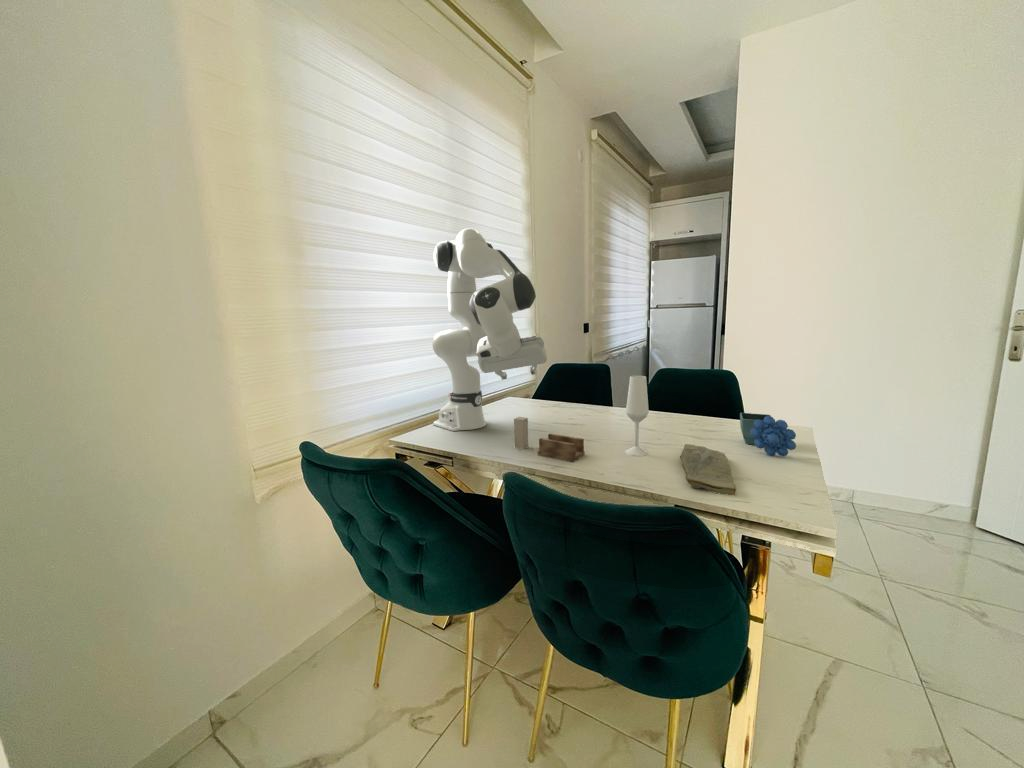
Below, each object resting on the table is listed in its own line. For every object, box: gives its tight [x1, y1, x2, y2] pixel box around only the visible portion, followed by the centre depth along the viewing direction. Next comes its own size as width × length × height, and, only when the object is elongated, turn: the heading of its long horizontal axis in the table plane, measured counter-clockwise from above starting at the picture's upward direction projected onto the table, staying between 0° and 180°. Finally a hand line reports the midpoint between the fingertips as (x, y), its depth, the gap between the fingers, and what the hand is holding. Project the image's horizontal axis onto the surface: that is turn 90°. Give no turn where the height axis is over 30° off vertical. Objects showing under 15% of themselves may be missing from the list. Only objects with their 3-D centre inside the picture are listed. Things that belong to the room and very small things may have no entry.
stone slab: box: [679, 443, 737, 496], centre depth 108 cm, size 12×4×30 cm
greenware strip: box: [513, 416, 529, 450], centre depth 131 cm, size 4×3×10 cm
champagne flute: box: [625, 375, 650, 457], centre depth 121 cm, size 7×7×24 cm
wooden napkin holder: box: [537, 433, 585, 463], centre depth 123 cm, size 12×8×5 cm, turn 55°
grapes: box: [750, 416, 797, 457], centre depth 115 cm, size 12×7×12 cm, turn 59°
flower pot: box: [739, 412, 772, 446], centre depth 128 cm, size 9×9×9 cm
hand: (519, 375), depth 120 cm, fingers open, 8 cm apart
